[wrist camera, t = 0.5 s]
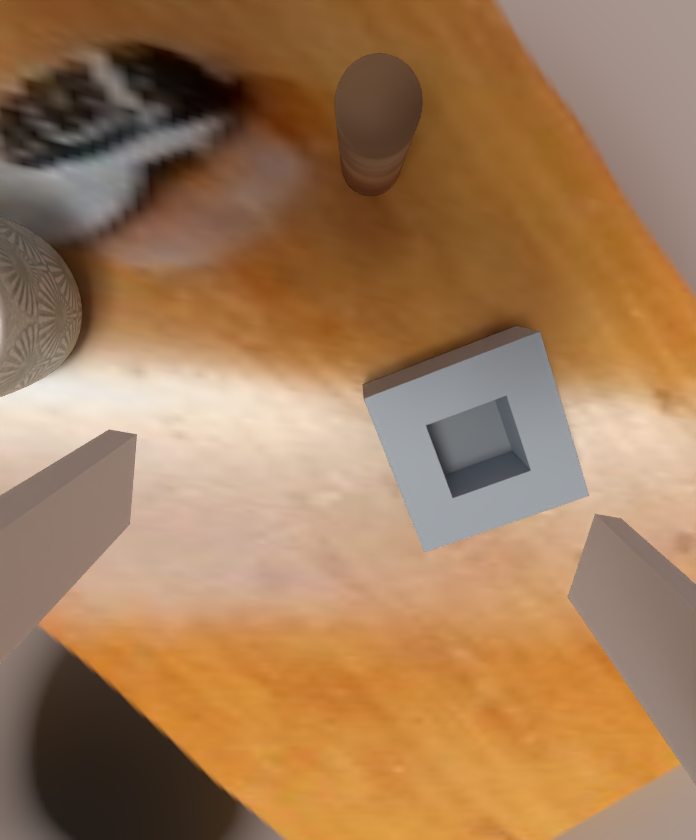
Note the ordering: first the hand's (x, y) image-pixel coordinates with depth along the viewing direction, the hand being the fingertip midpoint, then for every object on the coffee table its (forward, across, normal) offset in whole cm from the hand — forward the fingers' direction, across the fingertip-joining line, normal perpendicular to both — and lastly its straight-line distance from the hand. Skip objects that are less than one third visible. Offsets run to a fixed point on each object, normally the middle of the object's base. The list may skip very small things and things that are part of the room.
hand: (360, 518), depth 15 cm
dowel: (+25, -2, +14) cm, 29 cm away
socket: (+25, +9, -3) cm, 27 cm away
